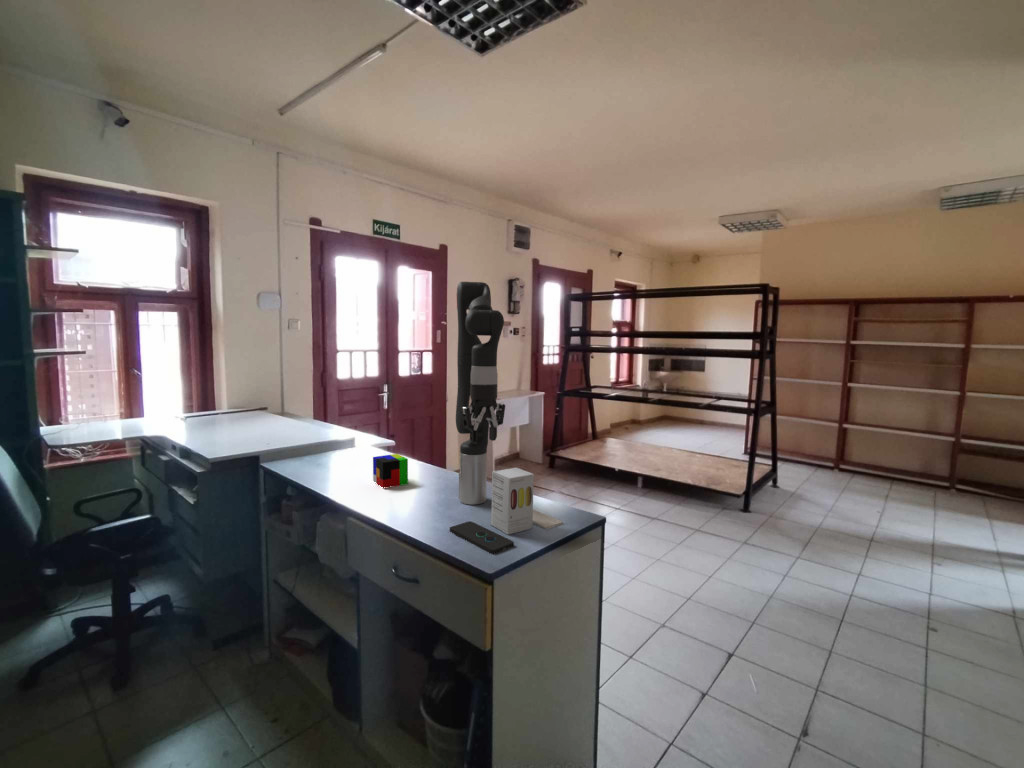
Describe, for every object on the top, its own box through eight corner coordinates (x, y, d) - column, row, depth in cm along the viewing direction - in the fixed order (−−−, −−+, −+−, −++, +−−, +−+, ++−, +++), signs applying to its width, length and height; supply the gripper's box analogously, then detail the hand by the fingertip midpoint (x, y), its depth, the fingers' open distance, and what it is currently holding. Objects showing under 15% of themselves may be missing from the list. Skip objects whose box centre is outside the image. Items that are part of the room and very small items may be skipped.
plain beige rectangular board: (512, 513, 153) (512, 511, 153) (528, 509, 157) (528, 507, 157) (546, 529, 141) (546, 527, 141) (563, 523, 145) (563, 521, 145)
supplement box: (507, 535, 136) (508, 478, 134) (490, 525, 143) (490, 471, 142) (533, 528, 141) (534, 473, 140) (515, 518, 149) (516, 466, 147)
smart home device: (492, 550, 123) (448, 527, 138) (492, 556, 123) (448, 532, 138) (515, 541, 129) (470, 520, 144) (515, 547, 129) (470, 525, 144)
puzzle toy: (373, 482, 184) (373, 457, 183) (397, 477, 190) (397, 453, 189) (382, 488, 176) (382, 462, 175) (407, 484, 182) (407, 458, 181)
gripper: (496, 380, 139) (495, 436, 140) (454, 382, 129) (454, 442, 131) (512, 382, 133) (511, 440, 134) (470, 384, 124) (470, 447, 125)
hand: (483, 441), depth 133 cm, fingers open, 5 cm apart
